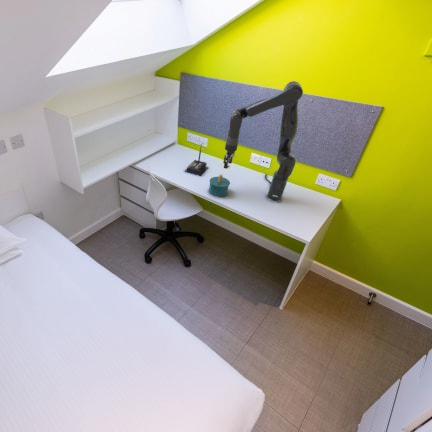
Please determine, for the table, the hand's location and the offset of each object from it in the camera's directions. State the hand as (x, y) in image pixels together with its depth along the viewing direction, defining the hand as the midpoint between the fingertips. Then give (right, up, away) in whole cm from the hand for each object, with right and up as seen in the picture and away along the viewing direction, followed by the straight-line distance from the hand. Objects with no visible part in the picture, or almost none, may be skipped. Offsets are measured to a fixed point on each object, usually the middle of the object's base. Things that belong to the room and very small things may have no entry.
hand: (227, 165), depth 197 cm
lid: (-4, -11, +6) cm, 13 cm away
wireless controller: (-13, +4, +39) cm, 42 cm away
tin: (-4, -17, +11) cm, 21 cm away
